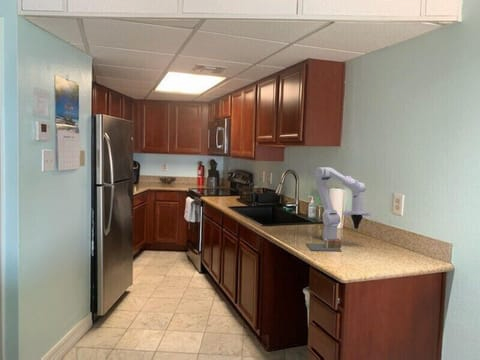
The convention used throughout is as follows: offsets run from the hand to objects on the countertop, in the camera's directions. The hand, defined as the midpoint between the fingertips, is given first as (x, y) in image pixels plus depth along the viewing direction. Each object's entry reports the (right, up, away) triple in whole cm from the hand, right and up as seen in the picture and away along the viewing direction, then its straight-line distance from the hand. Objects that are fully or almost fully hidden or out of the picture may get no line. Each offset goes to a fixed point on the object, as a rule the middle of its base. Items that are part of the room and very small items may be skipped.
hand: (356, 228), depth 209 cm
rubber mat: (-19, -10, -4) cm, 22 cm away
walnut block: (-10, -8, -4) cm, 13 cm away
